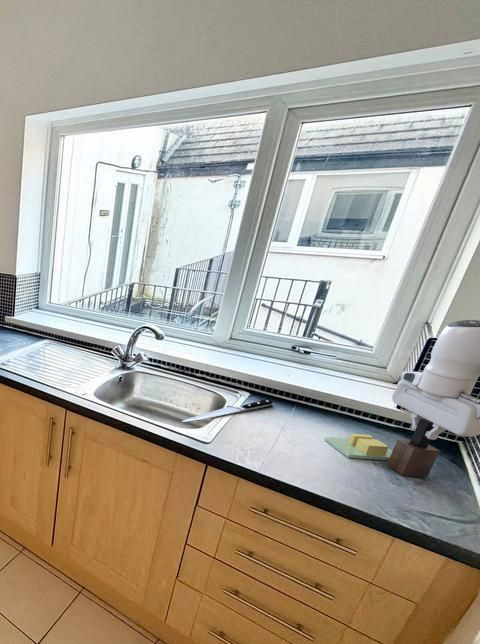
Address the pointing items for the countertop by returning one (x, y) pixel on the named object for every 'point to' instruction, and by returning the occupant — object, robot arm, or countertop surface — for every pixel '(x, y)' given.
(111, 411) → the countertop surface
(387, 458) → the butter dish
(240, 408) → the steak knife
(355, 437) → the butter slice
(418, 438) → the knife
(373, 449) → the butter block
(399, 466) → the knife block
